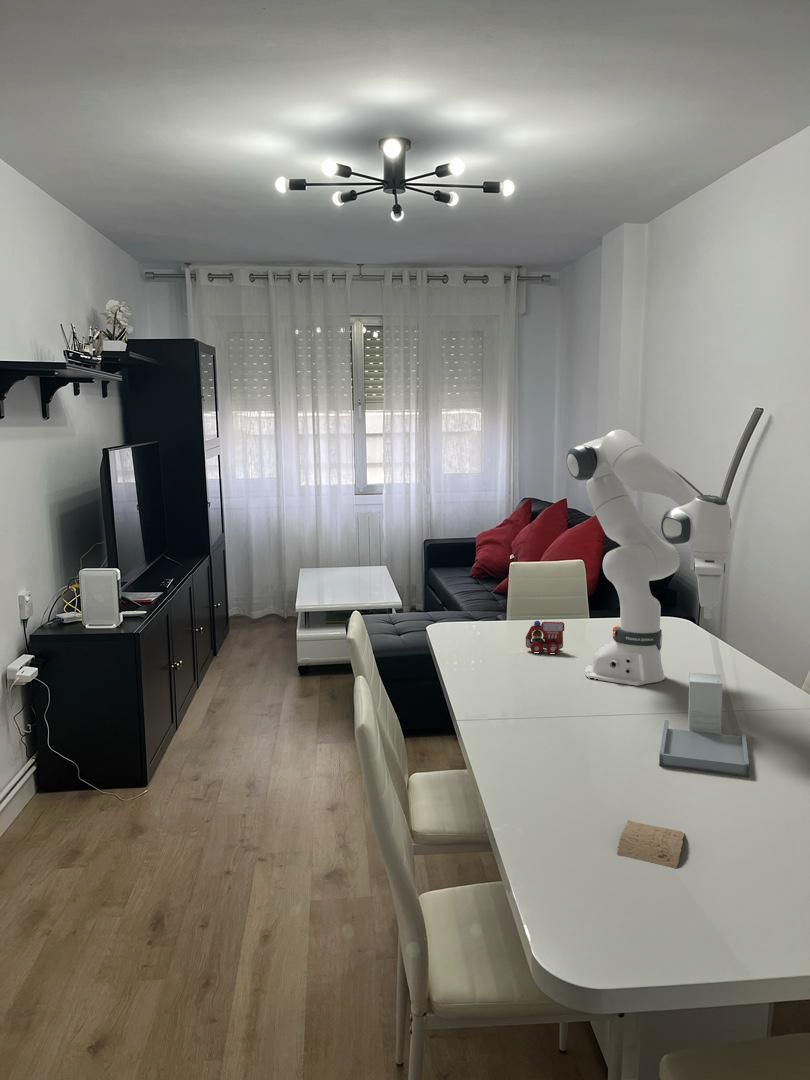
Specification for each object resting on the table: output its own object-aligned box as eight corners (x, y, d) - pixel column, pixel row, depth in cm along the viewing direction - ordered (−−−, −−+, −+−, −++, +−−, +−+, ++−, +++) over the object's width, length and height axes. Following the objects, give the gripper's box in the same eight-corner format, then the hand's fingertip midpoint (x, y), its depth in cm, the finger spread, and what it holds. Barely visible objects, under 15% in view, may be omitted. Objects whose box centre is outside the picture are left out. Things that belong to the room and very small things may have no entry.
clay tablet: (629, 823, 147) (630, 809, 146) (687, 833, 143) (687, 819, 142) (614, 862, 134) (615, 847, 134) (677, 875, 130) (678, 859, 129)
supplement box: (719, 724, 193) (721, 674, 191) (721, 735, 186) (723, 683, 185) (687, 721, 196) (689, 671, 194) (687, 732, 189) (689, 680, 187)
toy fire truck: (526, 648, 264) (527, 617, 263) (564, 650, 261) (565, 619, 260) (524, 653, 257) (524, 622, 256) (563, 655, 254) (563, 624, 253)
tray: (659, 765, 170) (659, 754, 170) (664, 730, 190) (664, 720, 190) (748, 776, 164) (749, 765, 164) (744, 738, 184) (744, 728, 184)
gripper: (696, 555, 205) (694, 607, 207) (694, 568, 186) (693, 626, 188) (722, 556, 202) (720, 609, 204) (724, 569, 184) (721, 628, 185)
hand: (707, 617), depth 196 cm, fingers closed
